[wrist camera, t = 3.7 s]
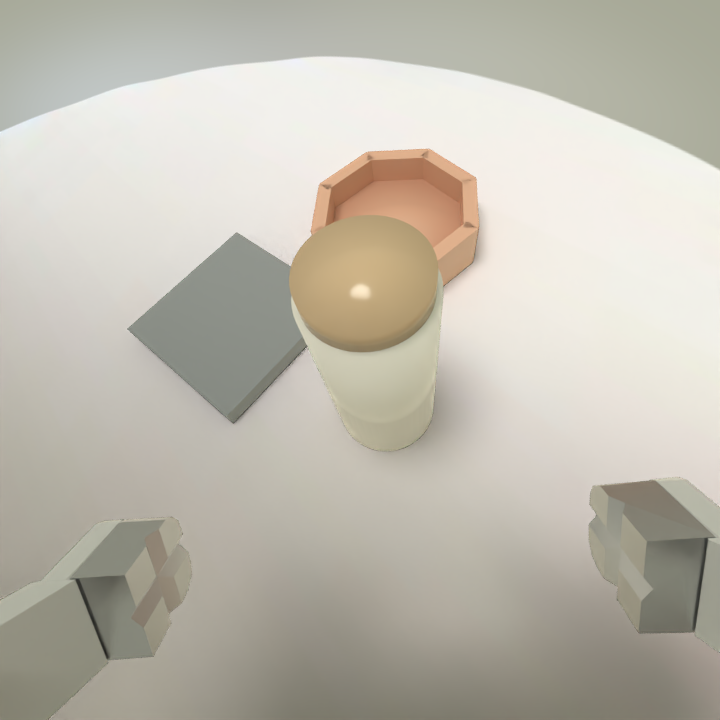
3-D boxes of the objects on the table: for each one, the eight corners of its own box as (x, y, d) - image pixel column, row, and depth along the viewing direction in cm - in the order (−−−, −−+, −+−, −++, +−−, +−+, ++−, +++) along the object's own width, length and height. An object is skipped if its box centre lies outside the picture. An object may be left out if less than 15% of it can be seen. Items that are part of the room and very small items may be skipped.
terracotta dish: (295, 240, 28) (283, 208, 26) (400, 166, 30) (399, 130, 28) (391, 328, 24) (387, 299, 22) (504, 236, 26) (513, 201, 24)
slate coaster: (136, 337, 26) (127, 329, 25) (242, 243, 29) (236, 232, 28) (233, 423, 23) (225, 416, 22) (342, 307, 25) (340, 297, 25)
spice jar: (322, 403, 23) (252, 271, 13) (389, 348, 24) (370, 188, 14) (382, 471, 21) (351, 375, 11) (453, 408, 22) (481, 268, 12)
